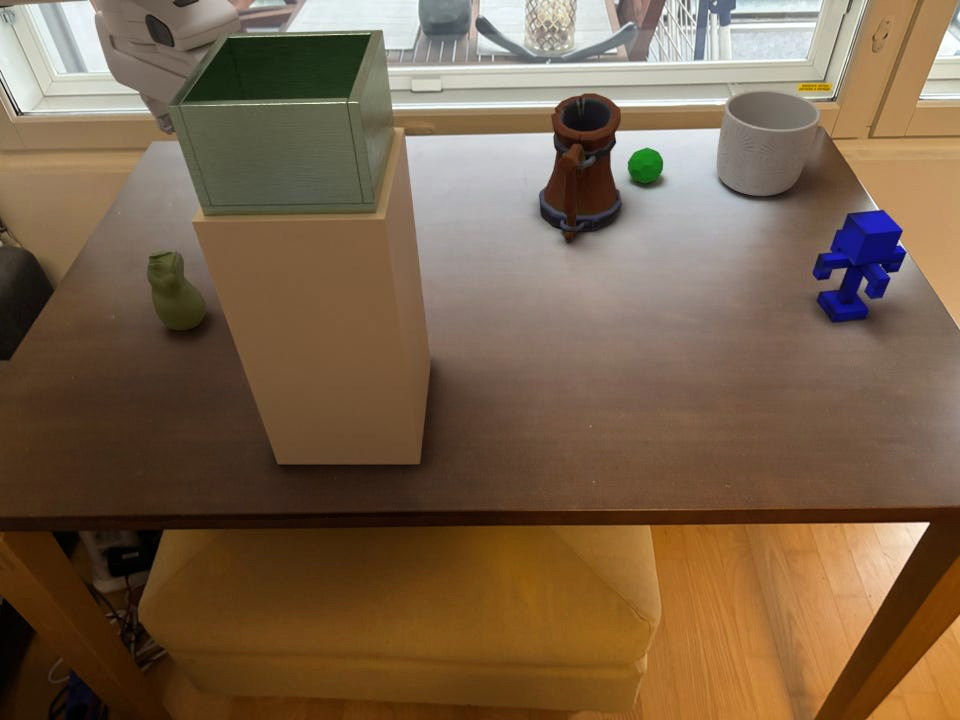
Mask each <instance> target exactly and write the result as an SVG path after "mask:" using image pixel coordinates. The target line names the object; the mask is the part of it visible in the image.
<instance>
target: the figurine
mask: <svg viewBox="0 0 960 720" xmlns="http://www.w3.org/2000/svg"><path fill="white" fill-rule="evenodd" d="M903 232H904V230H903V228H902V227H901V226H900V225H899V224H897V222H896V221H895V220H894V219H893V218H892V217H891V216H890V215H889V214H888V213H887V212H886V211H885V210H884V209H876V210H867V211H866V210H865V211H856V212H847V213H846V217H845V219H844V222H843V224H842V228H841V229H836V231H835V234H834V236H833V239H832V243H831V245H830V248H829V250H830V252H821V253H818V255H817V258H816V260H815V264H814V267H813V269H812V273H811V274H812V276H814V278H815V279H816V281H826V280H830V279H831V275H832V273H833V271H834V270H842V269H846V270H845V273H844V275H843V278H842V281H841V283H840V286H839V288H838V289H831V290H823V291H819V292H818V294H817V298H816V302H817V303H818V305H819V306H820V308H821V309H822V310H823V312H824V313H825V315H826V316H827V317H828V319H829V320H830V321H831V323H838V322H839V323H840V322H848V321H858V320H866V319H867V317H868V314H869V312H870V308H869V307H868V306H867V305H866V303H865V302H864V300H862V298H861V296H860V295H859V294H858V292H859V289H860V285H861V284H862V281H863V279H865V280H866V281H867V284H866V286H865V288H864V291H863V292H864V294H865V295H866V296H867V297H868V299H869V300H878V299H883V298H884V295H885V293H886V290H887V288H888V286H889V283H890V282H891V279H892V277H891V276H890V275H889V274H891V273H893V274H894V273H899V271H900V269H901V267H902V264H903V262H904V260H905V258H906V256H907V253H908V252H907V251H906V249H905V248H904V247H903V246H902V245H900V244H899V241H900V239H901V237H902V234H903ZM898 244H899V245H898Z"/></svg>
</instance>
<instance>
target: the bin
mask: <svg viewBox="0 0 960 720" xmlns="http://www.w3.org/2000/svg"><path fill="white" fill-rule="evenodd" d="M167 109H168V111H169V114H170V117H171V120H172V123H173V126H174V129H175V132H174V133H175V134H176V138H177V141H178V144H179V147H180V149H181V152H182V155H183V159H184V161H185V164H186V167H187V170H188V174H189V176H190V179H191V182H192V185H193V188H194V191H195V195H196V197H197V200H198V203H199V207H198V209H197V211H196V213H195V215H194V217H193V218H192V220H191V224H192V226H193V229H194V233H195V235H196V238H197V240H198V243H199V247H200V249H201V252H202V255H203V257H204V260H205V263H206V266H207V268H208V272H209V274H210V277H211V280H212V283H213V285H214V289H215V291H216V295H217V297H218V299H219V302H220V306H221V308H222V311H223V314H224V317H225V319H226V322H227V325H228V328H229V330H230V333H231V336H232V339H233V342H234V345H235V348H236V350H237V351H236V352H237V353H238V355H239V359H240V362H241V365H242V368H243V370H244V373H245V375H246V378H247V382H248V385H249V387H250V390H251V393H252V395H253V399H254V401H255V404H256V407H257V411H258V412H259V416H260V418H261V420H262V424H263V427H264V429H265V433H266V435H267V438H268V441H269V443H270V446H271V450H272V452H273V455H274V458H275V460H276V463H277V465H421V457H422V450H423V449H422V447H423V439H424V431H425V429H424V428H425V420H426V411H427V400H428V392H429V383H430V373H431V355H430V347H429V337H428V328H427V319H426V311H425V301H424V291H423V283H422V275H421V266H420V257H419V249H418V239H417V230H416V220H415V212H414V203H413V195H412V194H413V192H412V185H411V176H410V166H409V159H408V151H407V150H408V148H407V140H406V130H405V127H401V126H400V127H396V126H395V119H394V118H395V117H394V111H393V103H392V94H391V86H390V78H389V68H388V62H387V53H386V46H385V36H384V31H383V30H382V29H361V30H360V29H358V30H357V29H356V30H319V31H318V30H317V31H316V30H315V31H280V32H279V31H277V32H241V33H240V32H239V33H236V32H234V33H233V34H220V35H219V37H218V38H217V40H216V41H215V42H214V44H213V45H212V46H211V48H210V49H209V50H208V52H207V53H206V54H205V56H204V57H203V58H202V60H201V61H200V63H199V64H198V65H197V67H196V68H195V69H194V71H193V72H192V73H191V75H190V76H189V77H188V79H187V80H186V81H185V83H184V84H183V85H182V87H181V88H180V90H179V91H178V92H177V94H176V95H175V96H174V98H173V99H172V100H171V102H170V103H169V104H168V106H167Z"/></svg>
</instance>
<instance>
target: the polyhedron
mask: <svg viewBox="0 0 960 720" xmlns="http://www.w3.org/2000/svg"><path fill="white" fill-rule="evenodd" d="M663 170H664V160H663V157H662V156H661V153H660V152H659V151H657V150H656V149H652V148H650V147H644V148H641V149H639V150H636V151H634V152H633V153H632V155H631V156H630V158H629V159H628V161H627V171H628V174H629V175H630V177H631V179H632V180H634V181H636V182H638V183H642V184H647V183H650V182H653V181H655V180H658V178H659V176H661V174H662V173H663Z"/></svg>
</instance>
